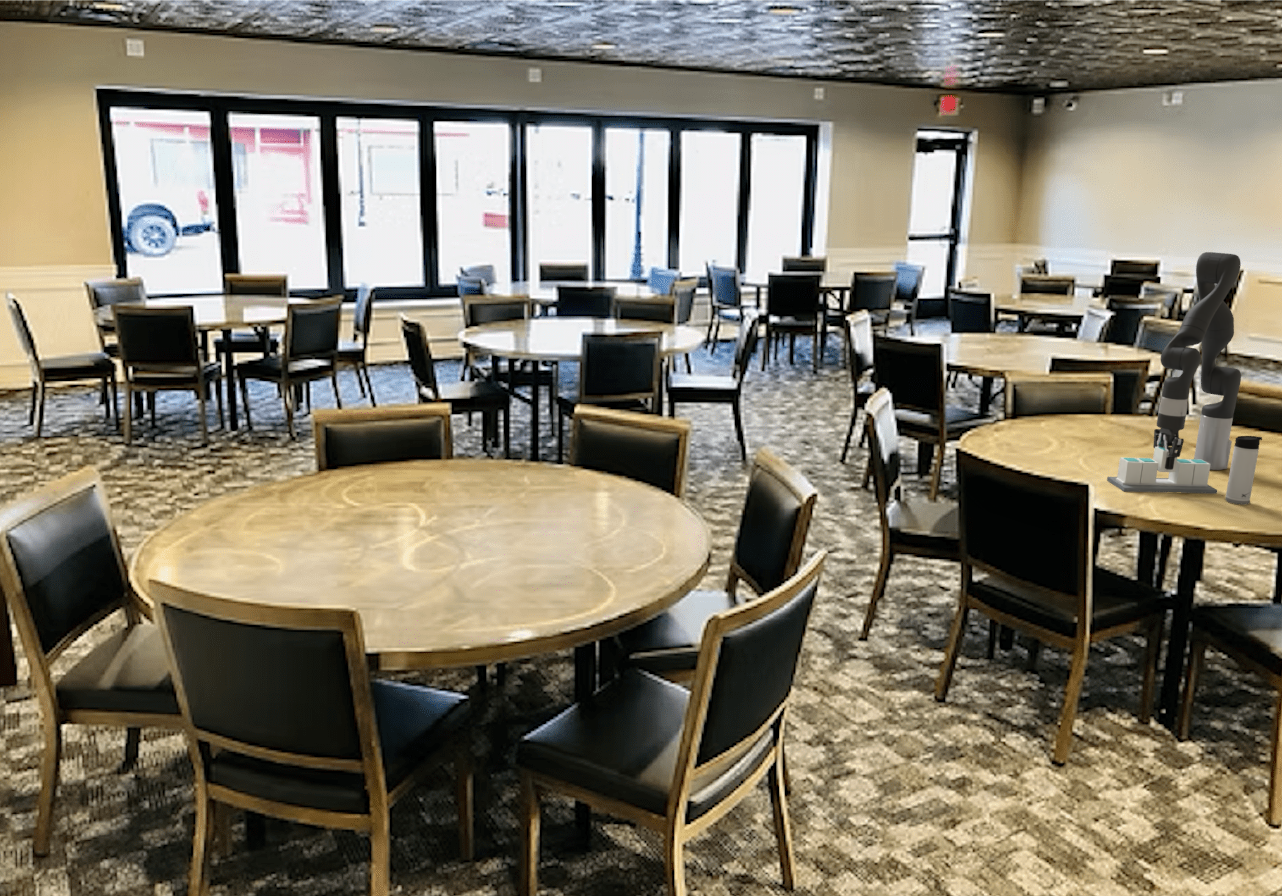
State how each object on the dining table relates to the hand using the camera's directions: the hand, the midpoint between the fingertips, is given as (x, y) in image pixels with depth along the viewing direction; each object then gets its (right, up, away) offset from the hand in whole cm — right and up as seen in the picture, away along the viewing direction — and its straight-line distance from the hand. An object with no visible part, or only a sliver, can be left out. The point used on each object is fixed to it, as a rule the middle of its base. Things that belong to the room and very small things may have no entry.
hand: (1163, 466), depth 321 cm
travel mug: (+16, -10, -12) cm, 22 cm away
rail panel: (0, -6, +2) cm, 7 cm away
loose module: (0, -1, 0) cm, 1 cm away
